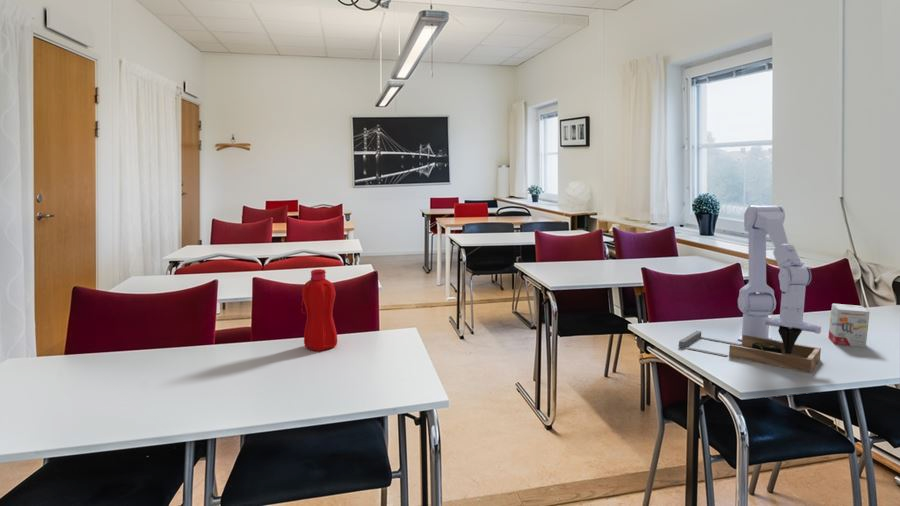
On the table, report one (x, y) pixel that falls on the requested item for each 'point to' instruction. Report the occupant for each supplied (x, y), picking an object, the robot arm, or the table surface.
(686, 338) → the bay
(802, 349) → the open frame
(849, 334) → the ink box
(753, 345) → the tape measure
